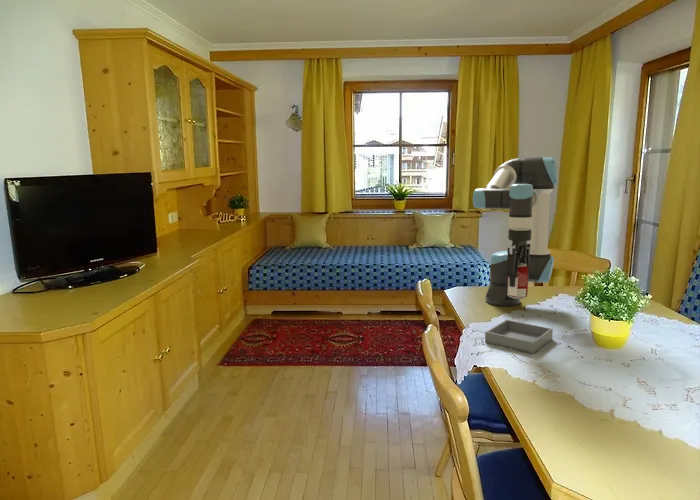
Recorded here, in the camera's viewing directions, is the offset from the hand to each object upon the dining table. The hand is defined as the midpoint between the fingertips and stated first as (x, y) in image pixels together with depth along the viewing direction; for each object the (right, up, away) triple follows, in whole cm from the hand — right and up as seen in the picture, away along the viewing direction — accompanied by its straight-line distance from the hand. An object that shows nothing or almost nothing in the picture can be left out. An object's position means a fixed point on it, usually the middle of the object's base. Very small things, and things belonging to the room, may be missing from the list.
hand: (517, 293), depth 172 cm
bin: (+1, -17, +2) cm, 18 cm away
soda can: (0, -2, 0) cm, 2 cm away
